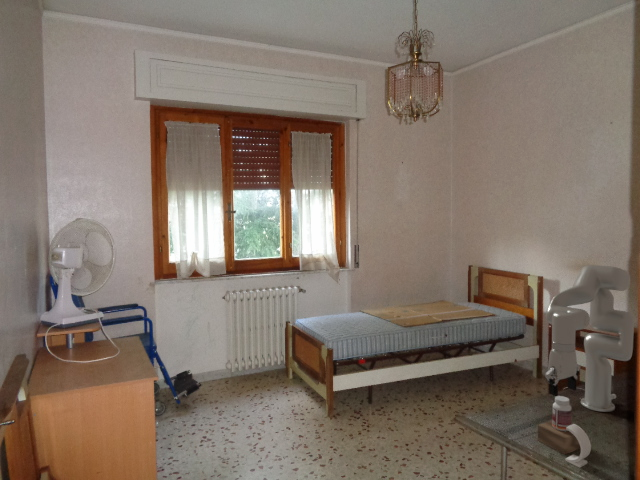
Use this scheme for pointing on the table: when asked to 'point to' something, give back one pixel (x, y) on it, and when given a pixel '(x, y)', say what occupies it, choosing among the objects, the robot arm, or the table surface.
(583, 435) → the headphone stand
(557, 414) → the pill bottle
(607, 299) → the robot arm
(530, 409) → the table surface
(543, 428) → the walnut block
